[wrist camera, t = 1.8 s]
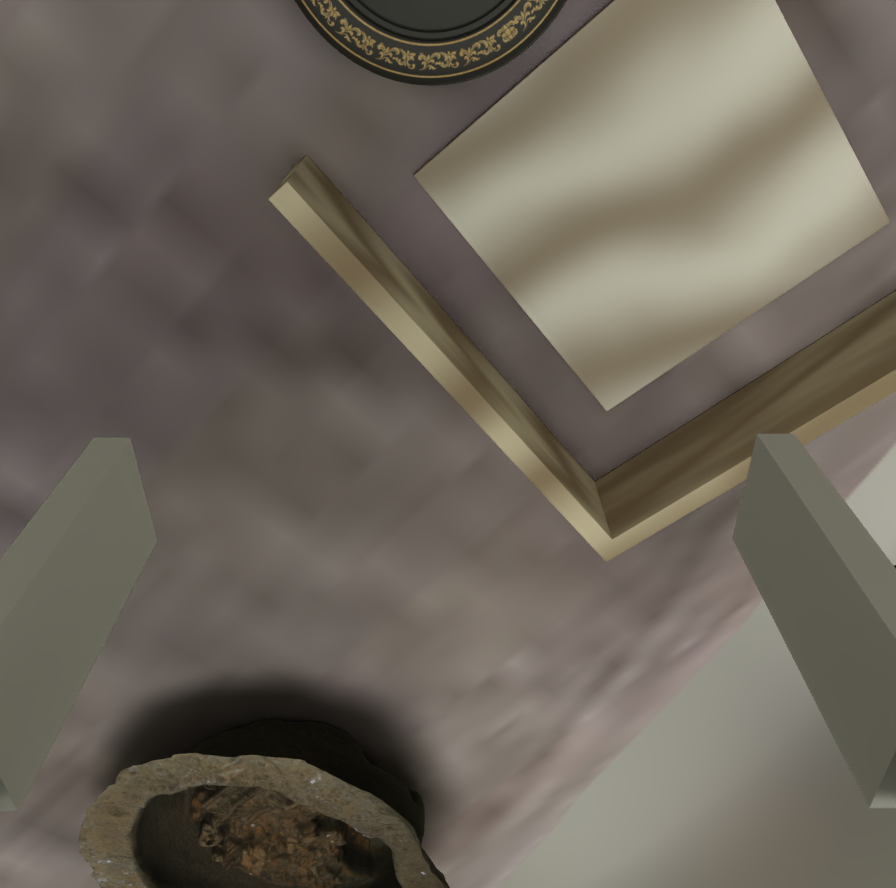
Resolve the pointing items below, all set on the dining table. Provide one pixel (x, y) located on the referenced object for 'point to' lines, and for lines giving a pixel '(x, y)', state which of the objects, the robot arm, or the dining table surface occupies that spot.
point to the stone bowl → (260, 817)
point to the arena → (639, 245)
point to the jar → (431, 34)
